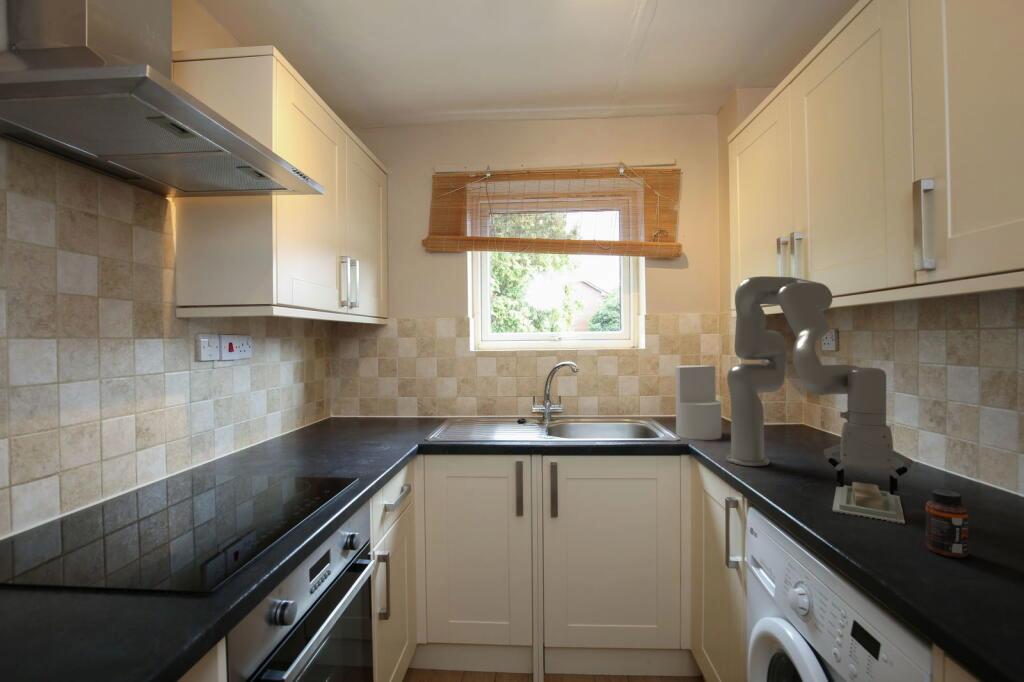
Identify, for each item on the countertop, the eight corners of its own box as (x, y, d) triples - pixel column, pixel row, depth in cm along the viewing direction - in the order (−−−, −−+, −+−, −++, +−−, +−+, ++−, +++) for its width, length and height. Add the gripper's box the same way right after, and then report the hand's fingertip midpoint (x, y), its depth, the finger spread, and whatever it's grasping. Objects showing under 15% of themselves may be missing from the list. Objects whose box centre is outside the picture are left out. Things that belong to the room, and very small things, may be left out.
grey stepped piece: (667, 432, 200) (666, 366, 199) (701, 429, 205) (701, 364, 204) (694, 441, 183) (694, 369, 183) (731, 437, 188) (730, 367, 188)
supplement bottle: (970, 562, 86) (970, 500, 85) (927, 553, 89) (927, 493, 89) (965, 550, 90) (965, 491, 90) (924, 542, 94) (924, 485, 94)
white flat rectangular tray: (836, 488, 127) (836, 482, 127) (899, 497, 119) (899, 491, 119) (832, 511, 111) (832, 505, 110) (904, 524, 103) (904, 517, 103)
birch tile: (855, 508, 111) (855, 495, 111) (852, 493, 121) (852, 481, 121) (882, 512, 108) (882, 499, 108) (877, 496, 118) (877, 484, 118)
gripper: (822, 417, 117) (822, 487, 117) (914, 425, 106) (914, 501, 107) (824, 413, 123) (824, 479, 123) (911, 420, 112) (911, 492, 113)
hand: (866, 489), depth 115 cm, fingers open, 9 cm apart
